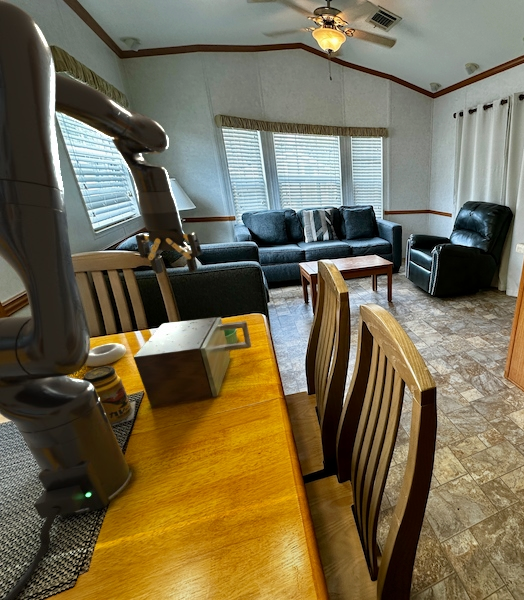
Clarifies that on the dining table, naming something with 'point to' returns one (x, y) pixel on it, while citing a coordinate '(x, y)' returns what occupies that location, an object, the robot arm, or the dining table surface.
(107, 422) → the robot arm
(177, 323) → the cupboard
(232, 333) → the ramekin
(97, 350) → the donut
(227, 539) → the dining table surface
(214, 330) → the door
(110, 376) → the condiment
